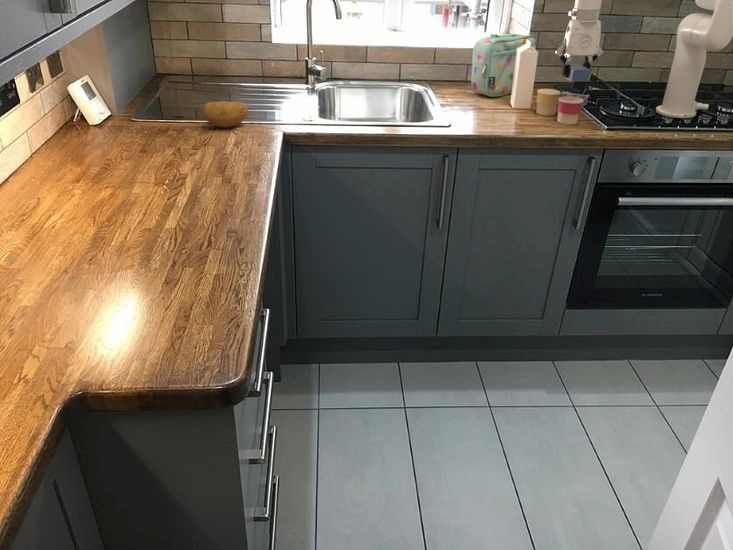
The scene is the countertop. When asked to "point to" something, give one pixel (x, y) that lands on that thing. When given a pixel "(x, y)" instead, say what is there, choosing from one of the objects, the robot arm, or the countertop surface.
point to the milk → (524, 76)
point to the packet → (578, 73)
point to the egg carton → (575, 96)
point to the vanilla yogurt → (547, 101)
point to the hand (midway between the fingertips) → (574, 76)
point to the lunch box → (496, 63)
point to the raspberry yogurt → (569, 109)
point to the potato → (225, 113)
